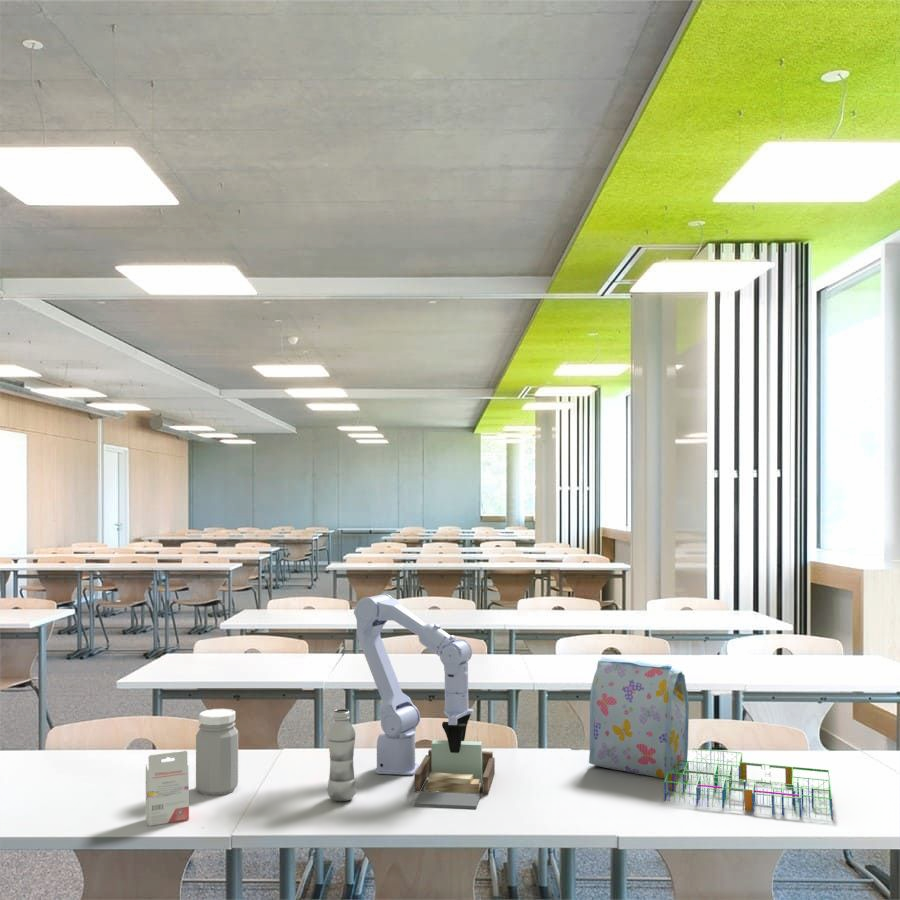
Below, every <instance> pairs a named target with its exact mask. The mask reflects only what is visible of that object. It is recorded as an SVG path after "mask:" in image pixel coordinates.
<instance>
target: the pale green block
mask: <svg viewBox="0 0 900 900" xmlns="http://www.w3.org/2000/svg"><path fill="white" fill-rule="evenodd" d="M430 750H431V756H432V772H440V773H456V774H471V775H473V779H480V784H482V783H483V774H482V751H483V741H476V740H475V741H474V740H473V741H472V740H469V741H468V740H464V741H461V747H460V751H459V753H451V752H450V749H449V744H448V739H446V740H443V739H442V740H441V739H433V741H432V742H431V749H430Z"/></svg>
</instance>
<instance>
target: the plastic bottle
mask: <svg viewBox="0 0 900 900" xmlns="http://www.w3.org/2000/svg"><path fill="white" fill-rule="evenodd" d="M332 719H333V723H332V724H331V726H330V728H329V730H328V732H327V742H328V743H327V744H328V749H329V750H328V752H329V774H328V776H329V777H328V781H327V795H328V797H329V798H330V800H332V801H336V802H346V801H349V800H352V799H354V798H355V797H354V796H355V795H356V790H357V785H356V784H357V783H356V779H355V778H356V777H355V769H354V768H355V767H354V752H355V751H354V750H355V742H356V729H355V728H354V726H353V725H352V724H351V722H350V719H351V716H350V709H347V708H339V709H334V710H333V718H332Z"/></svg>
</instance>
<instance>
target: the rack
mask: <svg viewBox="0 0 900 900" xmlns="http://www.w3.org/2000/svg"><path fill="white" fill-rule="evenodd" d="M493 752H494V751H483V750H482V795H484V796H485V795H487V796H488V795H489V793H490V790H491V787H492V783H493V780H494V777H495V774H496V771H495V770H496V769H495V766H496V765H495V764H496V763H495V760H496V759H495V758H496V757H494V753H493ZM427 753H428V754H425V756H424V758H423V760H422V761H421V763H420V764H419V767H418V768H417V770H416V772H415V773H414V775H413V776H414V793H420V792H421V790H422V789H423V787H422V786H424V785H423V784H425V783H426V782H427V779H428V778H427V777H428V775H430V774H429V773H431V771H432V756H431V749H428V751H427ZM424 782H425V783H424ZM421 788H422V789H421Z"/></svg>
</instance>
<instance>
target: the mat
mask: <svg viewBox="0 0 900 900" xmlns="http://www.w3.org/2000/svg"><path fill="white" fill-rule="evenodd" d="M480 800H481V793H479V794H475V793H454V792H432V791H420V792H418V795H417V796H416V799H415V800H414V802H413V807H424V806H430V808H431V807H432V808H449V809H451V808H452V809H470V810H471V809H473V810H474V809H475V810H477V808H478V805H479V802H480Z"/></svg>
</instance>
